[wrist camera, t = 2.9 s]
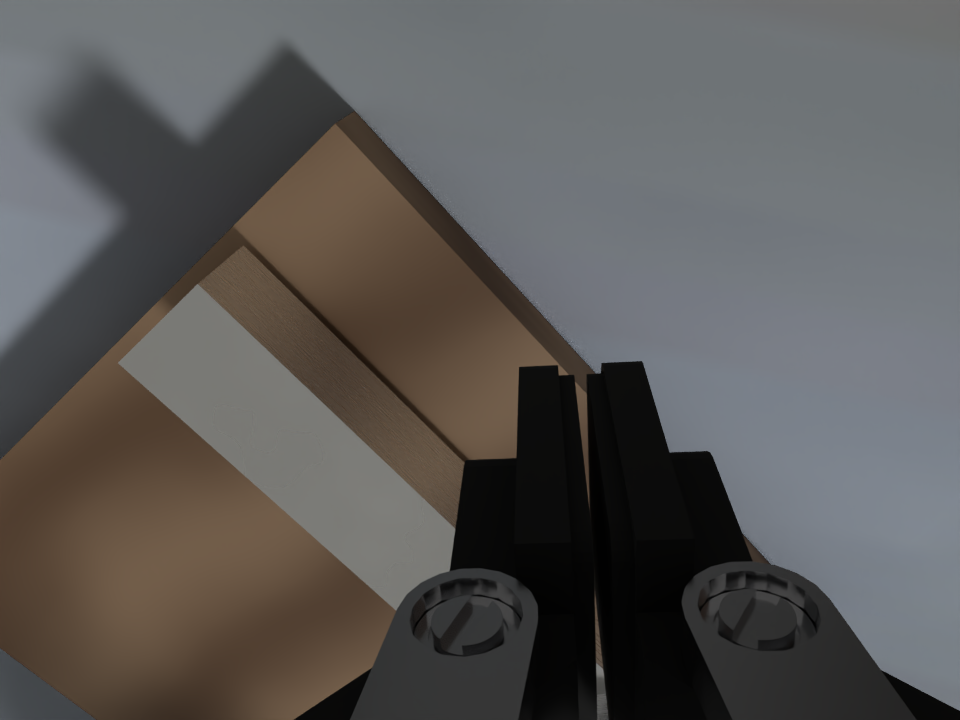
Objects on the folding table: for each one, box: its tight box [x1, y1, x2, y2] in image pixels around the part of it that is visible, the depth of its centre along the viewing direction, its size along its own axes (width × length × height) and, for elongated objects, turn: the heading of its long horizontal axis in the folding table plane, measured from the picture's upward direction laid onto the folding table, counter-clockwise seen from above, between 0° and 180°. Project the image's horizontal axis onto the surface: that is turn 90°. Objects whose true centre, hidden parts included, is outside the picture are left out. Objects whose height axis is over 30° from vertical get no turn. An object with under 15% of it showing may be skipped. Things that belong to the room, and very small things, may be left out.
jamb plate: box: [0, 111, 769, 720], centre depth 26 cm, size 20×20×2 cm
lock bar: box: [118, 245, 609, 720], centre depth 21 cm, size 17×4×4 cm, turn 42°
